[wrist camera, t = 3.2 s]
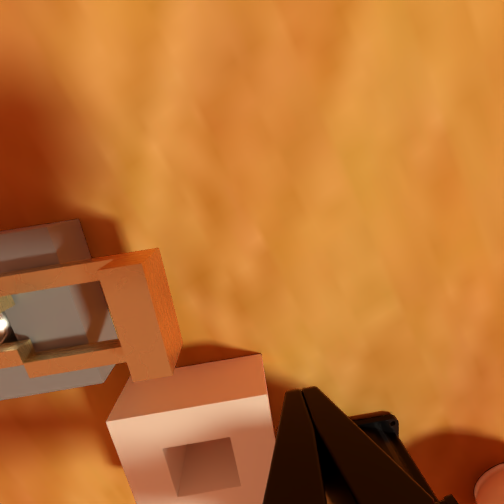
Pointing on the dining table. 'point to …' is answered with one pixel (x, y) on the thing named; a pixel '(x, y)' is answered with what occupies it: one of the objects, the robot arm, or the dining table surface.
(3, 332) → the steel pin
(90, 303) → the socket block
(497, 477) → the lidded jar
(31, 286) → the brass guide bars
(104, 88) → the dining table surface
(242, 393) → the square hole block
